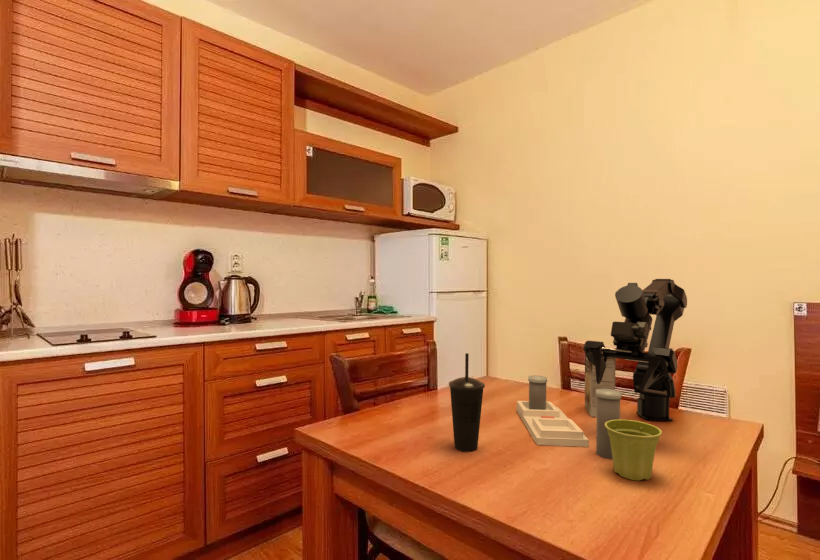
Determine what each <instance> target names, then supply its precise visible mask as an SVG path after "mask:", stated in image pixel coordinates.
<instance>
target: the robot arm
mask: <svg viewBox="0 0 820 560" xmlns="http://www.w3.org/2000/svg"><path fill="white" fill-rule="evenodd" d="M614 296H615V300H616V303H617V305H618V309H619V312H620V315H621V317H623V318H625V319H624V321H612V324H611V331H610V337H612V338H613V340H612V343H613V346H616V347H615V348H612V347H606V346H605V342H604V341H600V340H599V341H597V340H586V341H585V342H584V344H583V347H582V349H583V351H584V355H585V354H586V356H587V359H588V361H589V362H591V363H592V364H593V365H594V366H595V370H596V381H597V384H600V382H601V380H602V377H603V374H604V371H605V369H606V364H605V363H606V362H607V357H612V358H616V359H622V360H626V361H632V362H637V365H636V368H635V369H634V371H633V373H632V383H633V390H634V393H635V394H638V397H637V402H636V403H637V404H636V406H637V407H636V409H637V411H636V413H635V414H637V415H638V416H640V417H641V418H643V419H645V421H653V422H654V421H657V422H658V421H659V422H661V421H662V422H663V421H664V422H673V418H672V417H670V399H674V398H676V387H675V382H674V380H673V377H672V375H673V374H676V373H677V369H678V361H677V360H678V359H677V356H676V352H675V350H674V349H673V348H672V347H671V348H670V344H671V340H672V335H673V332H674V331H673V330H674V326H675V322H676V321H677V320H678V319H680V318H681V317H683V315H684V311H685V309H686V308H687V306H688V297H687V294H686V291H685V289H684V288H682V287H681V286H679V285H677V284H676V283H675V280H674V279H671V278H655V279H652V280H651V283H650V284H648V285H647V286H646V287H645V288H643V289H642V288H641V287H639V285H638V282H628V283H627V285H626V286H622V287H620V288H619V289H617V290H616V291H615V294H614ZM653 315H654V316H655V320H654V325H653V330H652V324H653V317H652V316H653ZM651 331H652V333H651V338H650V341H649V343H648V339H649V336H650V332H651ZM648 346H649V347H648ZM646 348H648V350H647V352H645V350H646Z"/></svg>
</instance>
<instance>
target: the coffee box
mask: <svg viewBox="0 0 820 560" xmlns="http://www.w3.org/2000/svg"><path fill="white" fill-rule="evenodd" d="M616 360H617V358H612V357H607V362H606V363H605V364H606V369H605V371H604V374H603V377H602V380H601V382H600V384H597V381H596V370H595V366H594V365H593V364H592V363H591V362H589V361H588V359H587V356H586V354H585V353H584V408H585V410H586V411H587V413H588V414H589V416H590V417H592V418H597V396H596V389H612V390H616Z"/></svg>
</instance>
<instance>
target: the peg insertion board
mask: <svg viewBox="0 0 820 560" xmlns="http://www.w3.org/2000/svg"><path fill="white" fill-rule="evenodd" d="M527 381H528V400H517V401H516V413H517V412H518V413H517V414H518V416H519V417H521V418H520V419H521V421H522V422H523V424H524V426H525V428H526V429H527V431H528V432H529V434H530V436H531V437H532V439H533V441H534V442H535V444H536V445H537V446H553V447H557V446H558V447H559V446H560V447H583V448H584V447H585V448H589V447H590V445H589V444H590V440H589V438H587V436H586V435H585V434H584V431H583V430H582V429H581V427H579V426H578V425H577V424H576V423H575V421H574V420H573V419H571V418H569V417H567V415H566V414H565V413H564V412H563V411H562V410H561V409H560V408H559V407H558V406H555V405H554V404H553V403H552V401H547V384H548V377H547V376H543V375H536V374H535V375H528V379H527Z"/></svg>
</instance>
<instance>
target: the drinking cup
mask: <svg viewBox="0 0 820 560" xmlns="http://www.w3.org/2000/svg"><path fill="white" fill-rule="evenodd" d="M469 356H470V355H469V353H467V352H466V353H465V356H464V357H465V358H464V359H465V363H464V364H465V366H464V369H465V371H464V372H465V374H464V376H463V377H462V376H461V377H458V378H455V379H453V380H450V381H448V387H449V393H450V403H451V404H450V405H451V418H452V419H451V420H452V430H453V431H452V432H453V442H454V449H456V450H457V451H459V452H465V453H466V452H467V453H469V452H475V451H477V450H478V446H479V437H480V436H479V435H480V426H481V425H480V424H481V416H482V415H481V414H482V405H483V404H482V403H483V395H484V388H485V387H486V384H485V382H482V381H480V380H479V379H477V378H474V377H469V361H470V360H469V358H470V357H469Z"/></svg>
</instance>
